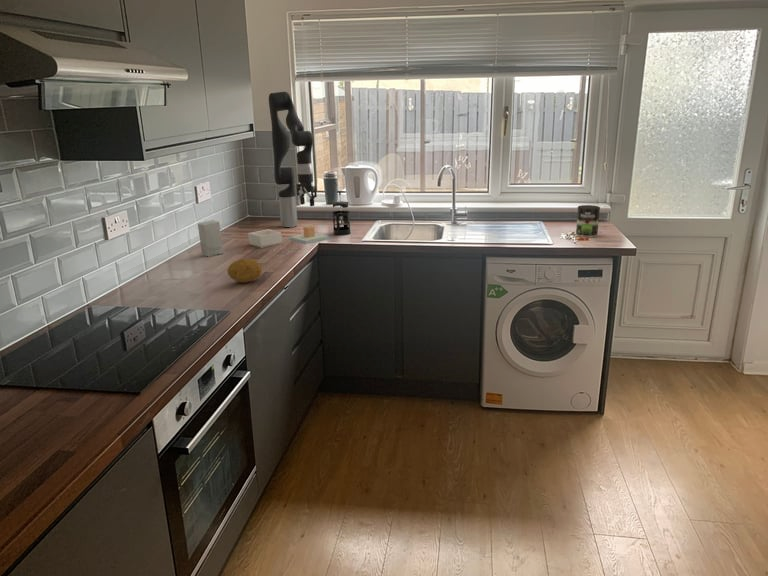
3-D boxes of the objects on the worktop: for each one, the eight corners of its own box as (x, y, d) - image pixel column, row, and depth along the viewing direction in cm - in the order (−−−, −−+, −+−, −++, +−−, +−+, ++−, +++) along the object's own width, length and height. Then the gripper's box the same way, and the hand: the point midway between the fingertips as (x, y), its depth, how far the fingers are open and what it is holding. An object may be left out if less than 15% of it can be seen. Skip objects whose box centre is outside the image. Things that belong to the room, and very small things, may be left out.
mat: (285, 240, 297) (285, 239, 296) (314, 234, 308) (314, 233, 308) (304, 245, 284) (304, 244, 283) (334, 239, 295) (334, 238, 295)
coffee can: (597, 237, 278) (599, 209, 274) (574, 236, 282) (576, 208, 278) (598, 233, 287) (600, 205, 283) (576, 232, 291) (578, 204, 287)
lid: (290, 238, 296) (289, 227, 294) (313, 234, 305) (312, 222, 303) (305, 243, 286) (304, 230, 284) (328, 238, 295) (327, 226, 293)
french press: (346, 237, 298) (343, 192, 291) (329, 236, 302) (327, 192, 295) (354, 232, 309) (352, 189, 302) (338, 231, 312) (336, 189, 305)
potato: (226, 281, 228) (223, 258, 225) (259, 276, 233) (257, 254, 231) (231, 287, 220) (228, 264, 217) (265, 282, 225) (263, 259, 222)
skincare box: (217, 251, 277) (213, 219, 272) (224, 253, 272) (220, 221, 268) (201, 255, 271) (196, 222, 267) (208, 257, 267) (203, 224, 262)
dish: (249, 244, 289) (248, 233, 287) (270, 240, 296) (269, 229, 295) (261, 248, 280) (260, 236, 279) (282, 244, 288) (281, 232, 286)
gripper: (290, 172, 288) (293, 204, 293) (306, 174, 278) (309, 207, 283) (303, 171, 293) (305, 202, 298) (319, 172, 283) (321, 205, 288)
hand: (307, 205), depth 290 cm, fingers open, 8 cm apart
